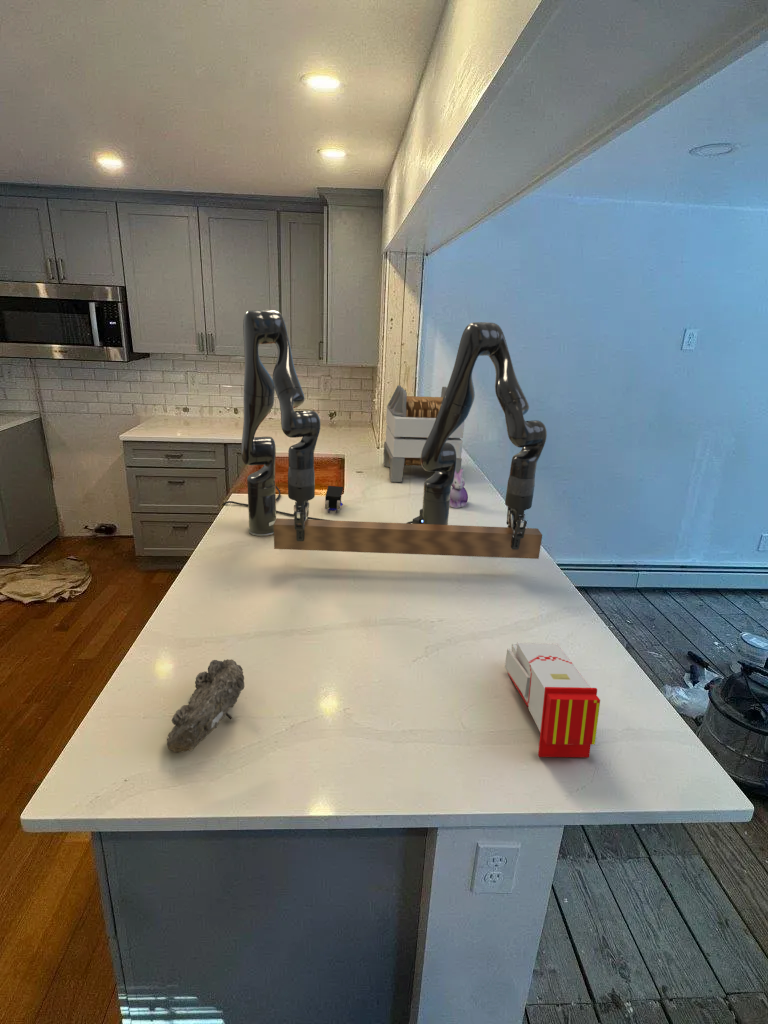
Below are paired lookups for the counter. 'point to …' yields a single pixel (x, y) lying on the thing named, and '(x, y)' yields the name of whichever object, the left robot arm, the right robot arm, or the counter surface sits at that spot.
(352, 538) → the post
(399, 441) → the transformer
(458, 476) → the figurine
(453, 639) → the counter surface
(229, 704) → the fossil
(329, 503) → the figurine character
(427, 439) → the right robot arm
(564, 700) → the toy
